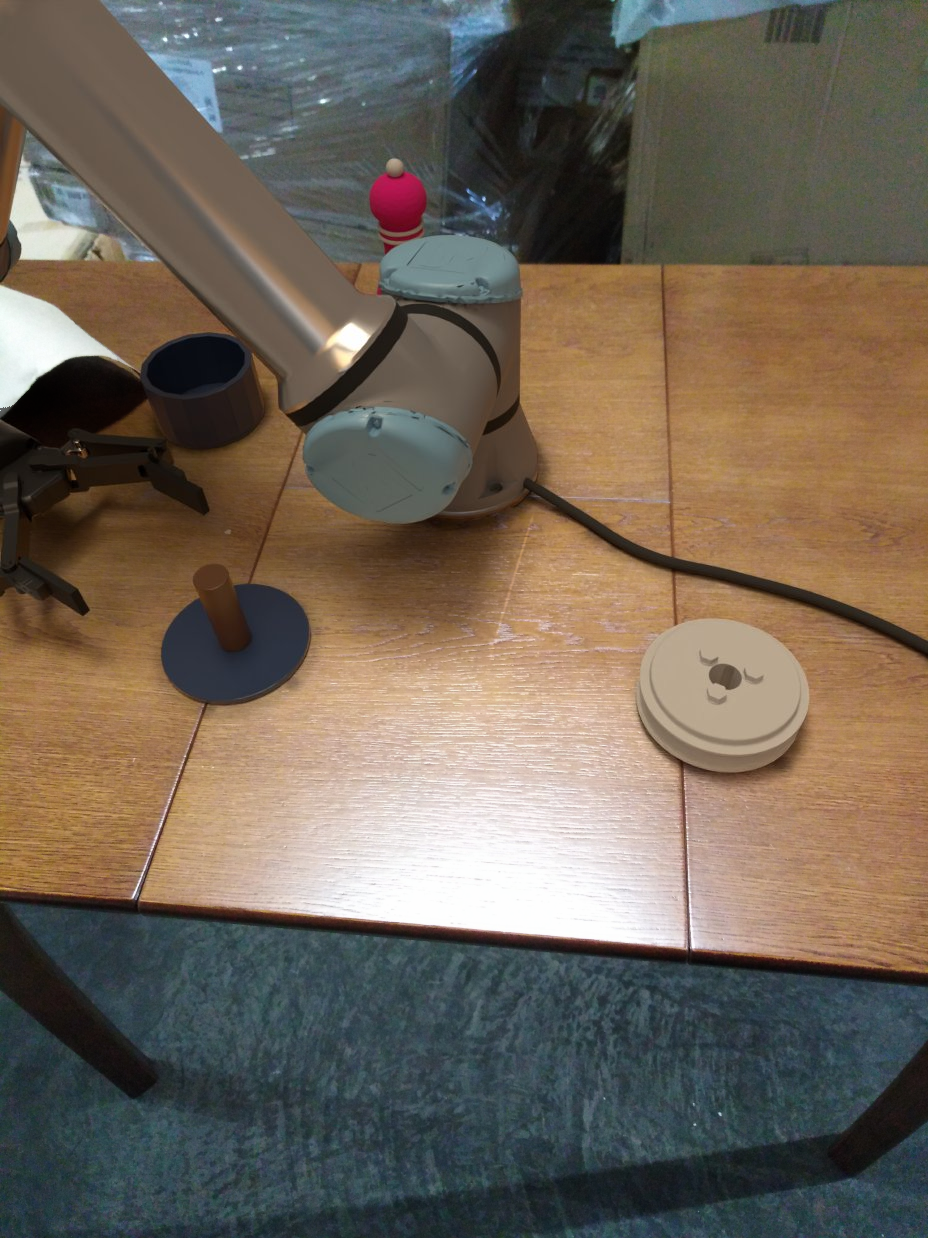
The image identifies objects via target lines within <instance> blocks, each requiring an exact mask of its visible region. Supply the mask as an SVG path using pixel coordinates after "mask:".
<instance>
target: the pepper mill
mask: <svg viewBox="0 0 928 1238" xmlns="http://www.w3.org/2000/svg"><path fill="white" fill-rule="evenodd" d="M385 170H386V173H383V174H382V175H380V176H378V177H377V178H376V179H375V180H374V182H373V183H372V186H371V187H370V191H369V198H368V200H369V208H370V212H371V214H372V215H373V217H374V218H375V219H376V220H377V223H376V228H377V230H378V231H377V236H378V238H379V240H380V241H381V242H382V244H383V249H384V256H385V255H386V254H387V253H388V252H389V251H390V250H391V249H393V248H394V247H396V246H398V245H400V244H402V243H405V242H408V241H410V240H414V239H418V238H424V235H425V233H426V230H425V227H424V226H425V220H424V218H423V215H424V214H425V212H426V209H427V204H428V197H427V196H428V195H427V193H426V189H425V186H424V184H423V183H422V181H421V180H420V178H418V176H416V175H414V174H413V173H411V172H407V171H404V164H403V162H402V161H401V160H400V159H398V158H391V159H389V160H388V161H387V163H386V164H385ZM376 295H381V289H379V286H378V285H377V290H376Z"/></svg>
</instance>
